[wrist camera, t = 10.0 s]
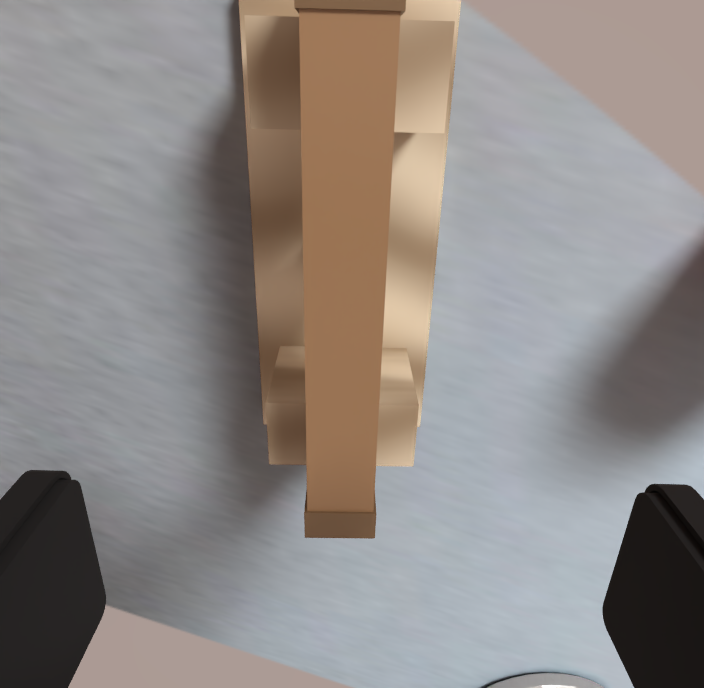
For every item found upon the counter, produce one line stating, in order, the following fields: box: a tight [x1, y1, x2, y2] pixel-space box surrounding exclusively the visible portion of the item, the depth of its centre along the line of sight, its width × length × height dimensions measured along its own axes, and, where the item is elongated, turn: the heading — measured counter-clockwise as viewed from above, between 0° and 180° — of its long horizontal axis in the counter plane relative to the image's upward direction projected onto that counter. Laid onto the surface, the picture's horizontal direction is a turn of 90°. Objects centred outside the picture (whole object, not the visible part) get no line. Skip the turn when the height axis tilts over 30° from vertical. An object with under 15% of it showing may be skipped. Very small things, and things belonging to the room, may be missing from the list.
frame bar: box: [294, 0, 406, 538], centre depth 17 cm, size 18×3×3 cm, turn 179°
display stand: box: [239, 0, 461, 466], centre depth 22 cm, size 19×8×6 cm, turn 179°
